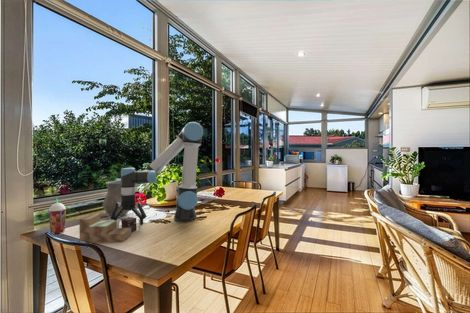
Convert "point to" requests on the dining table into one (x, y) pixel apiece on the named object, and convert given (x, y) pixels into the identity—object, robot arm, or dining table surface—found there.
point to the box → (129, 223)
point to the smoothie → (57, 217)
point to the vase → (113, 198)
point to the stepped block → (101, 230)
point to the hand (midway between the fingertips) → (129, 230)
